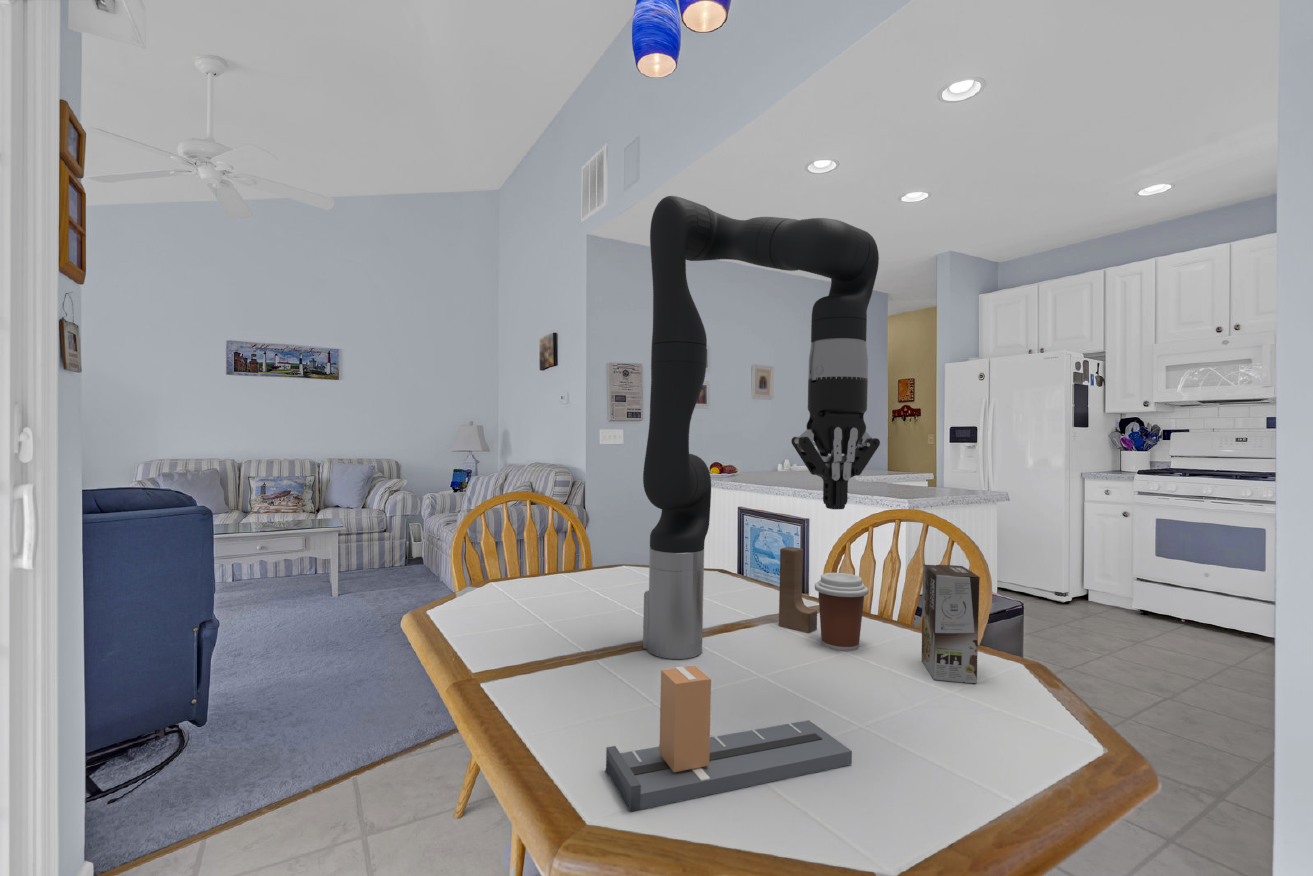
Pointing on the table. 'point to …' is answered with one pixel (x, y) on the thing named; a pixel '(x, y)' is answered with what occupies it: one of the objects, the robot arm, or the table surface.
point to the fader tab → (685, 718)
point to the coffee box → (950, 622)
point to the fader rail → (726, 764)
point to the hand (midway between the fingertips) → (834, 508)
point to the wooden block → (793, 593)
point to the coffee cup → (841, 610)
